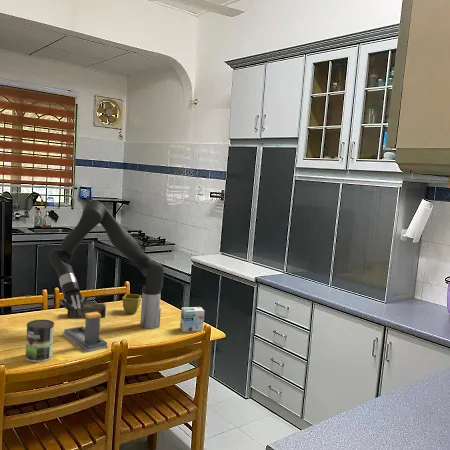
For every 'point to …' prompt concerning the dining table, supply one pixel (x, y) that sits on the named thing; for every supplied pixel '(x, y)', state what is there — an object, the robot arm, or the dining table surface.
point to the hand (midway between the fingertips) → (79, 317)
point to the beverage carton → (90, 310)
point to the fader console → (83, 339)
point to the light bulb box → (192, 319)
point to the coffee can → (39, 340)
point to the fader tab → (92, 327)
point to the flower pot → (131, 303)
